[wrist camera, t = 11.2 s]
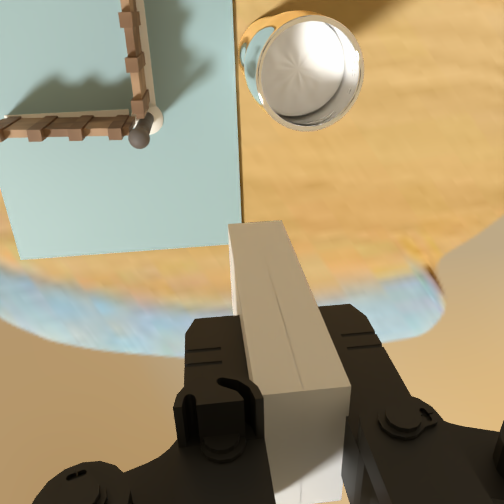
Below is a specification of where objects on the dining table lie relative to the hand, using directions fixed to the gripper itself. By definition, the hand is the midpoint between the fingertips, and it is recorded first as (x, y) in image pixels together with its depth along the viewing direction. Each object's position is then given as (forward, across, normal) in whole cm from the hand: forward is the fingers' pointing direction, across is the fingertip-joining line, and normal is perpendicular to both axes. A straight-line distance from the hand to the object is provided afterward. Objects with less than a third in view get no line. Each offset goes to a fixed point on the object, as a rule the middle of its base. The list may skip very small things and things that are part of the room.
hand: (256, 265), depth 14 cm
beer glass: (+33, +5, +3) cm, 33 cm away
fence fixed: (+32, -6, +4) cm, 33 cm away
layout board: (+32, -9, -2) cm, 34 cm away
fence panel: (+32, -12, -2) cm, 34 cm away
